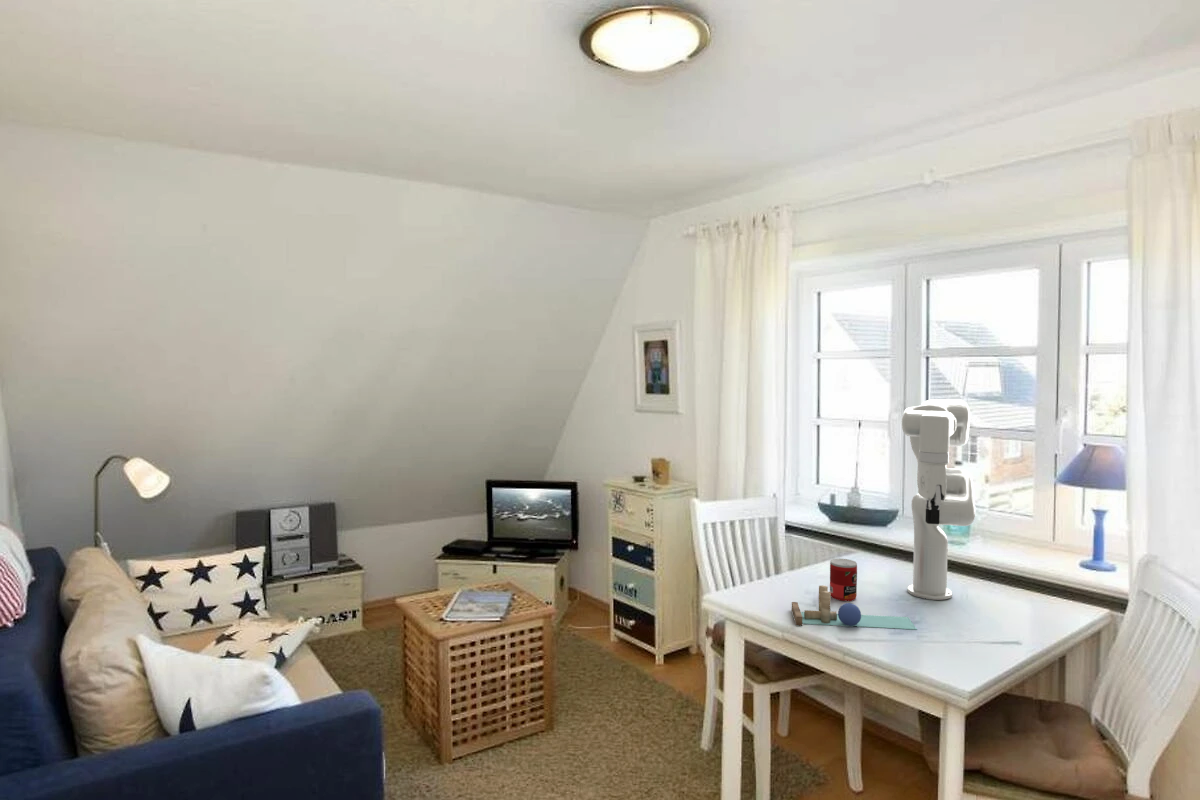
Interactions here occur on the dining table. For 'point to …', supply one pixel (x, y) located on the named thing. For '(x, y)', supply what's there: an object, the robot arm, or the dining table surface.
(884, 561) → the dining table surface
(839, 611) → the ball
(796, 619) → the block
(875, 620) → the panel
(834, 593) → the canned food
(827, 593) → the pin
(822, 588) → the pin
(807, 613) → the pin front
